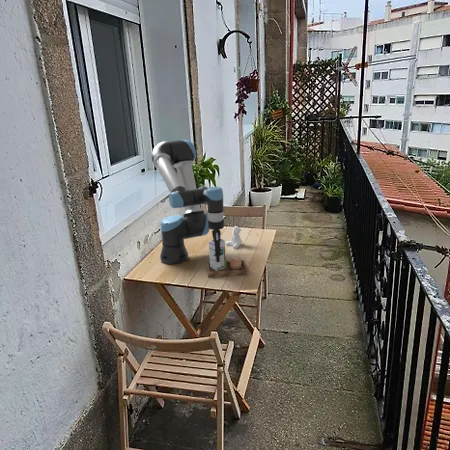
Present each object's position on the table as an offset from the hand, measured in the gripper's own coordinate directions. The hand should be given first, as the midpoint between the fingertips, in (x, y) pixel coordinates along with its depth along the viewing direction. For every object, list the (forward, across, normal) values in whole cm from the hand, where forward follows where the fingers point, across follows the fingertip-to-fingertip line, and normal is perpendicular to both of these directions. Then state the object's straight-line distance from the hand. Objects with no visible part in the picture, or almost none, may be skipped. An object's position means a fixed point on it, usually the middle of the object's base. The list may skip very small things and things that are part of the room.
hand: (217, 263), depth 186 cm
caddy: (+5, 0, -4) cm, 7 cm away
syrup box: (+2, 0, 0) cm, 2 cm away
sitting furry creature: (+5, +35, -12) cm, 38 cm away
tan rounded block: (+4, 0, -9) cm, 10 cm away
